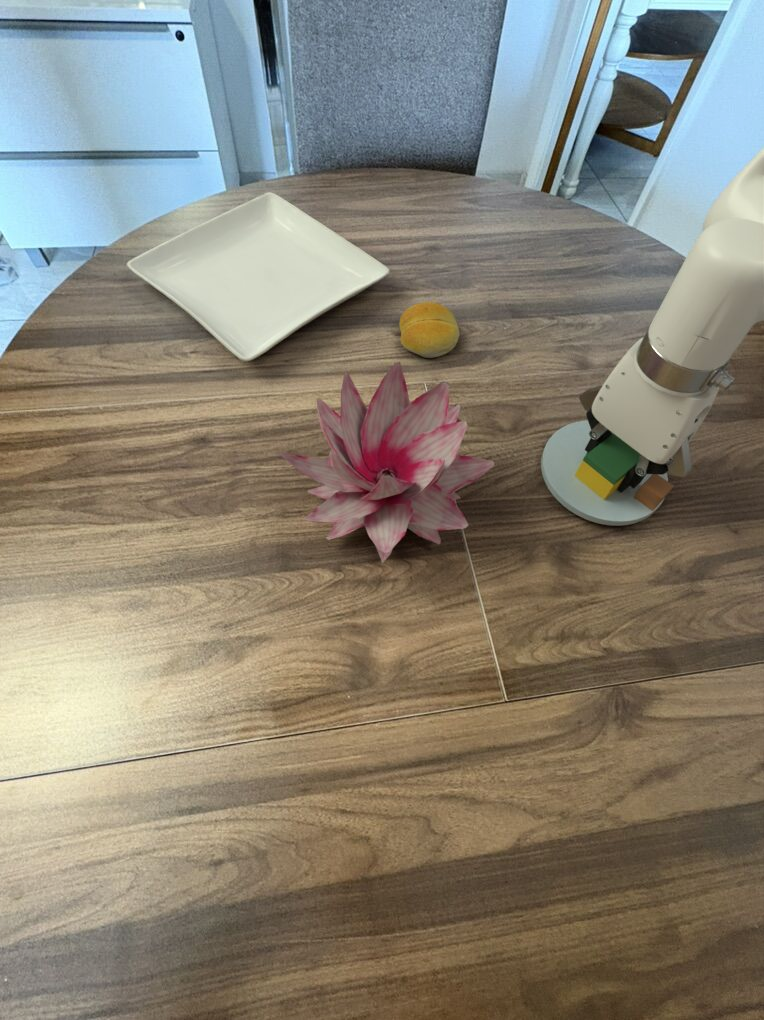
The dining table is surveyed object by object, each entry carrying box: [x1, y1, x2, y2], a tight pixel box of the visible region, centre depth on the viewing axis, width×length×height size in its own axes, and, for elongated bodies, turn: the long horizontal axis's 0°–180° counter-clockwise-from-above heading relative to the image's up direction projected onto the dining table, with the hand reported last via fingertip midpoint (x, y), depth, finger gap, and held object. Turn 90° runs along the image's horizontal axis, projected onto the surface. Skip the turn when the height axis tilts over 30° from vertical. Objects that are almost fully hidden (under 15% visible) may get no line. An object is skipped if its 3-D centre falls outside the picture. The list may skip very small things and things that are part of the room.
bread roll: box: [398, 301, 460, 359], centre depth 85 cm, size 8×9×4 cm
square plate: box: [125, 191, 391, 362], centre depth 89 cm, size 27×27×4 cm
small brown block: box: [634, 474, 675, 511], centre depth 70 cm, size 3×3×3 cm
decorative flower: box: [279, 361, 495, 564], centre depth 65 cm, size 21×21×15 cm
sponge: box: [574, 433, 640, 500], centre depth 72 cm, size 8×4×4 cm, turn 131°
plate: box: [540, 420, 669, 527], centre depth 74 cm, size 15×15×2 cm
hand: (609, 470), depth 73 cm, fingers closed on sponge, 4 cm apart
